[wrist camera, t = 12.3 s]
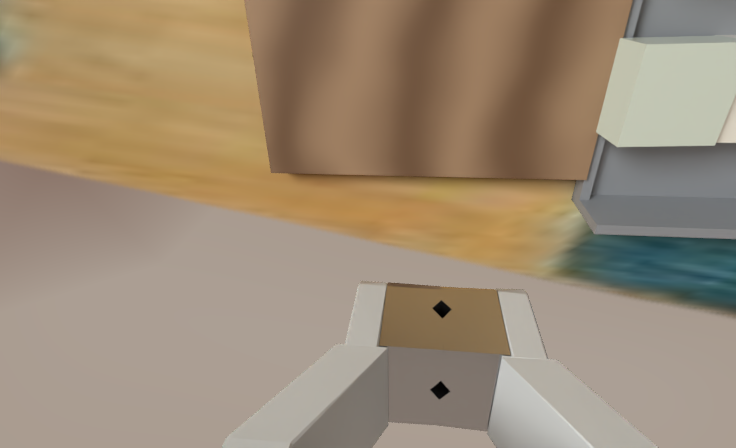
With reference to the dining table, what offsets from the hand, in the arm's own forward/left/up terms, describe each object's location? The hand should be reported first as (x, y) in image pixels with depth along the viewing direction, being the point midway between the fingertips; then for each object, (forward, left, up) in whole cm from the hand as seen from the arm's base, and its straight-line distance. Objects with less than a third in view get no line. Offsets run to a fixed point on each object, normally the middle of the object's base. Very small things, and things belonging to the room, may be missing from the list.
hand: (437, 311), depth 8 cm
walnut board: (0, 0, -20) cm, 20 cm away
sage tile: (-12, 0, -19) cm, 22 cm away
